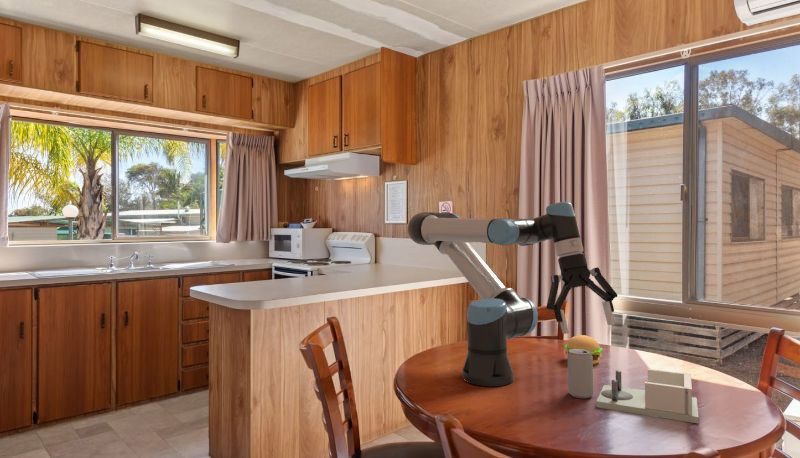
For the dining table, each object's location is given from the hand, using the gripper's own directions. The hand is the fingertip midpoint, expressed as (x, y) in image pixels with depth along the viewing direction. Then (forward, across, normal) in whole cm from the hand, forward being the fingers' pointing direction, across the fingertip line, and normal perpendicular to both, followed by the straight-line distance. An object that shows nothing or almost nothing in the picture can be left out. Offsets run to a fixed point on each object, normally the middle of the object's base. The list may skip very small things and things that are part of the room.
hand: (588, 329), depth 137 cm
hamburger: (+13, +9, +30) cm, 34 cm away
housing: (+20, +10, -13) cm, 26 cm away
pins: (+17, 0, -7) cm, 18 cm away
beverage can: (+17, -7, -1) cm, 18 cm away
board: (+20, +6, -10) cm, 23 cm away
